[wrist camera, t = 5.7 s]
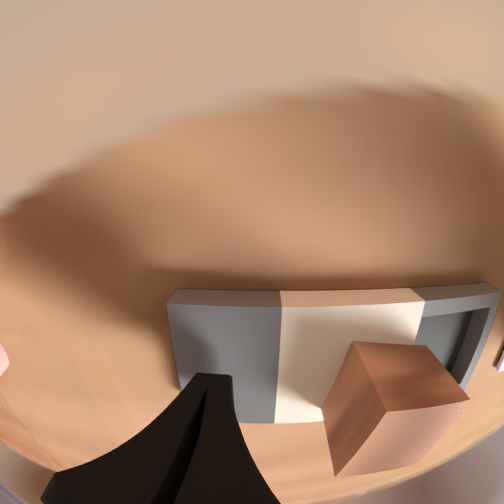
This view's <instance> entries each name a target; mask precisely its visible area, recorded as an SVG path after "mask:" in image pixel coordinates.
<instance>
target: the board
mask: <svg viewBox="0 0 504 504" xmlns="http://www.w3.org/2000/svg"><path fill="white" fill-rule="evenodd" d="M501 294H502V292H501V291H500V290H498V289H496V288H495V287H493V286H491V285H489V284H488V283H486V282H485V283H474V284H462V285H448V286H433V287H417V288H396V289H371V290H332V291H245V290H205V289H179V288H178V289H177V290H176V291H175V292H174V294H173V295H172V296H171V298H170V299H169V300H168V302H167V303H166V306H167V314H168V321H169V327H170V334H171V340H172V346H173V351H174V357H175V362H176V367H177V373H178V378H179V382H180V387H181V391H182V390H183V389H184V387H185V386H186V385H187V384H188V382H189V381H190V380H191V379H192V377H193V376H194V375H195V374H196V373H197V372H199V373H211V374H228V375H231V376H232V377H233V393H234V409H235V413H236V417H237V420H238V423H301V422H316V421H324V420H323V415H322V410H321V408H322V406H323V404H324V402H325V400H326V398H327V396H328V394H329V392H330V390H331V388H332V386H333V384H334V382H335V379H336V377H337V375H338V373H339V371H340V368H341V366H342V364H343V362H344V359H345V357H346V355H347V352H348V350H349V347H350V345H351V343H352V341H362V342H374V343H387V344H404V345H426V346H427V347H428V348H429V349H430V350H431V351H432V353H433V354H434V355H435V356H436V357H437V359H438V360H439V361H440V362H441V363H442V365H443V366H444V367H445V368H446V369H447V371H448V372H449V373H450V374H451V376H452V377H453V378H454V379H455V381H456V382H457V383H458V384H459V386H460V387H461V388H462V390H464V389H465V387H466V385H467V384H468V382H469V380H470V377H471V375H472V373H473V371H474V369H475V367H476V365H477V362H478V360H479V358H480V355H481V353H482V351H483V348H484V346H485V343H486V341H487V338H488V335H489V333H490V330H491V327H492V324H493V321H494V318H495V315H496V312H497V308H498V305H499V302H500V298H501Z"/></svg>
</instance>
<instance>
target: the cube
mask: <svg viewBox="0 0 504 504" xmlns="http://www.w3.org/2000/svg"><path fill="white" fill-rule="evenodd" d="M469 401H470V399H469V397H468V396H467V395H466V393H465V392H464V391H463V390H462V388H461V387H460V386H459V384H458V383H457V382H456V381H455V379H454V378H453V377H452V376H451V374H450V373H449V372H448V371H447V369H446V368H445V367H444V366H443V365H442V363H441V362H440V361H439V360H438V359H437V357H436V356H435V355H434V354H433V353H432V351H431V350H430V349H429V348H428V347H427V346H426V345H404V344H387V343H374V342H362V341H352V343H351V345H350V347H349V350H348V352H347V355H346V357H345V359H344V362H343V364H342V366H341V368H340V371H339V373H338V375H337V377H336V379H335V382H334V384H333V386H332V388H331V390H330V392H329V394H328V396H327V398H326V400H325V402H324V404H323V406H322V408H321V410H322V415H323V420H324V424H325V429H326V434H327V439H328V444H329V449H330V454H331V459H332V464H333V469H334V475H335V477H342V476H353V475H361V474H369V473H375V472H381V471H387V470H392V469H397V468H402V467H406V466H411V465H415V464H417V463H418V462H419V461H420V460H421V459H422V458H423V457H424V456H425V455H426V454H427V453H428V452H429V450H430V449H431V448H432V447H433V446H434V445H435V444H436V443H437V442H438V441H439V439H440V438H441V437H442V436H443V435H444V433H445V432H446V431H447V430H448V429H449V427H450V426H451V425H452V424H453V422H454V421H455V420H456V419H457V417H458V416H459V415H460V413H461V412H462V411H463V409H464V408H465V406H466V405H467V404H468V402H469Z"/></svg>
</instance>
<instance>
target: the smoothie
mask: <svg viewBox="0 0 504 504" xmlns="http://www.w3.org/2000/svg"><path fill="white" fill-rule="evenodd" d="M8 366H9V360H8V356H7V354H6V352H5V350H4V348H3V346H2V344H1V343H0V376H1V375H2V374H3V372H4V371H5V370H6V368H7V367H8Z"/></svg>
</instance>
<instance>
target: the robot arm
mask: <svg viewBox="0 0 504 504" xmlns="http://www.w3.org/2000/svg"><path fill="white" fill-rule="evenodd" d="M496 370H497V371H498V372H501V371H503V370H504V351H503V353H502V356H501V358H500V360H499V362H498V364H497V367H496ZM41 501H42V502H43V503H44V504H281V503H280V502H279V501H278V499H277V498H276V497H275V495H274V494H273V492H272V491H271V490H270V488H269V486H268V485H267V483H266V482H265V480H264V478H263V477H262V475H261V473H260V472H259V470H258V468H257V466H256V464H255V462H254V461H253V459H252V457H251V454H250V452H249V450H248V448H247V446H246V443H245V441H244V438H243V435H242V433H241V430H240V427H239V424H238V420H237V417H236V413H235V409H234V393H233V377H232V376H231V375H228V374H211V373H199V372H197V373H196V374H195V375H194V376H193V377H192V379H191V380H190V381H189V382H188V384H187V385H186V386H185V387H184V389H183V390H182V391H181V392H180V393H179V395H178V396H177V397H176V398H175V399H174V400H173V401H172V402H171V403H170V405H169V406H168V407H167V408H166V409H165V410H164V411H163V412H162V413H161V414H160V415H159V416H158V417H157V418H155V419H154V420H153V421H152V422H151V423H150V424H149V425H148V426H147V427H145V428H144V429H143V430H142V431H140V432H139V433H138V434H136V435H135V436H134V437H132V438H131V439H130V440H128V441H127V442H125V443H123V444H122V445H120V446H119V447H117V448H116V449H114V450H112V451H110V452H108V453H107V454H104V455H102V456H100V457H98V458H96V459H94V460H92V461H90V462H87V463H85V464H82V465H79V466H76V467H73V468H70V469H67V470H64V471H60V472H56V473H55V474H54V475H53V477H52V478H51V480H50V482H49V483H48V485H47V487H46V489H45V490H44V492H43V494H42V496H41ZM0 504H29V503H27V502H26V501H25V500H23V499H22V498H21V497H19V496H18V495H17V494H15V493H14V492H13V491H12V490H10V489H9V488H8V487H7V486H6V485H4V484H3V483H2V482H1V481H0Z"/></svg>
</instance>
